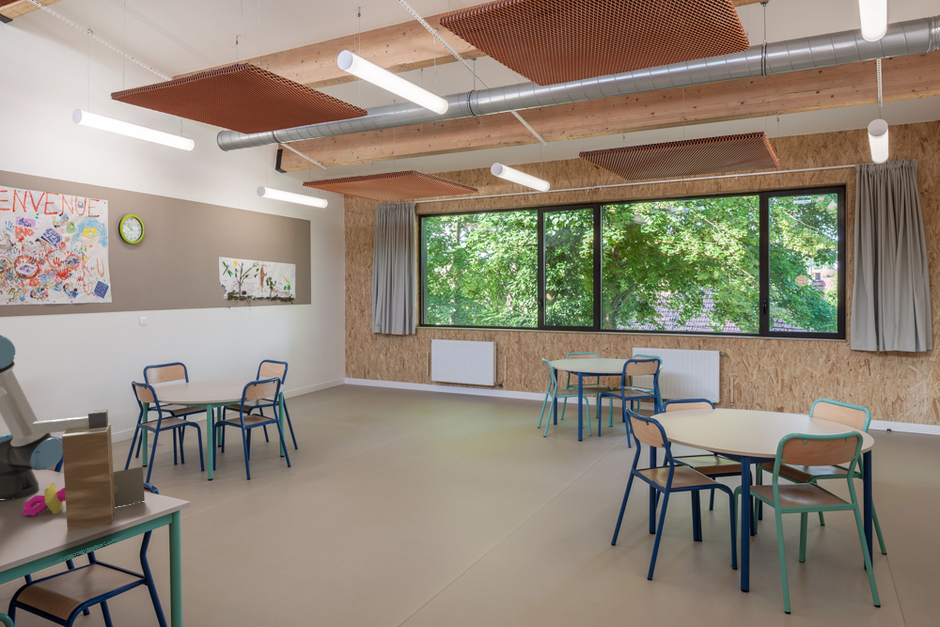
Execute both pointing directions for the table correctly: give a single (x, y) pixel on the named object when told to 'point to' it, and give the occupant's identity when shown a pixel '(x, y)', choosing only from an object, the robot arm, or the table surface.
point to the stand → (88, 477)
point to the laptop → (128, 486)
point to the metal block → (72, 423)
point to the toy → (45, 501)
